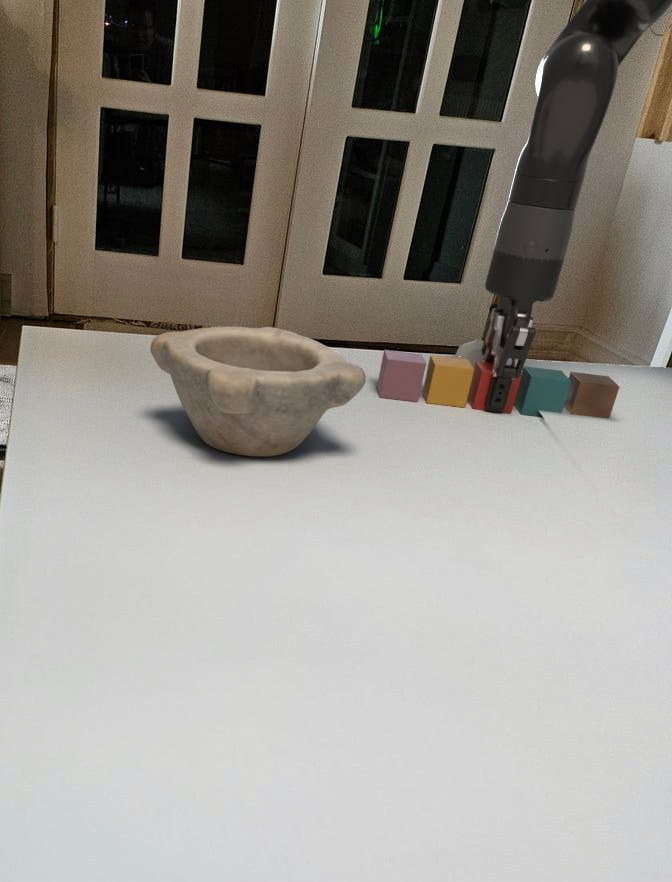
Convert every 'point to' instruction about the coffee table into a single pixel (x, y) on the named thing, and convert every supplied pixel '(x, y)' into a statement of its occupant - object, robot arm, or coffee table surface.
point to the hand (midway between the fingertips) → (489, 402)
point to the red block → (482, 384)
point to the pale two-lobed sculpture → (471, 352)
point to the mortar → (255, 385)
